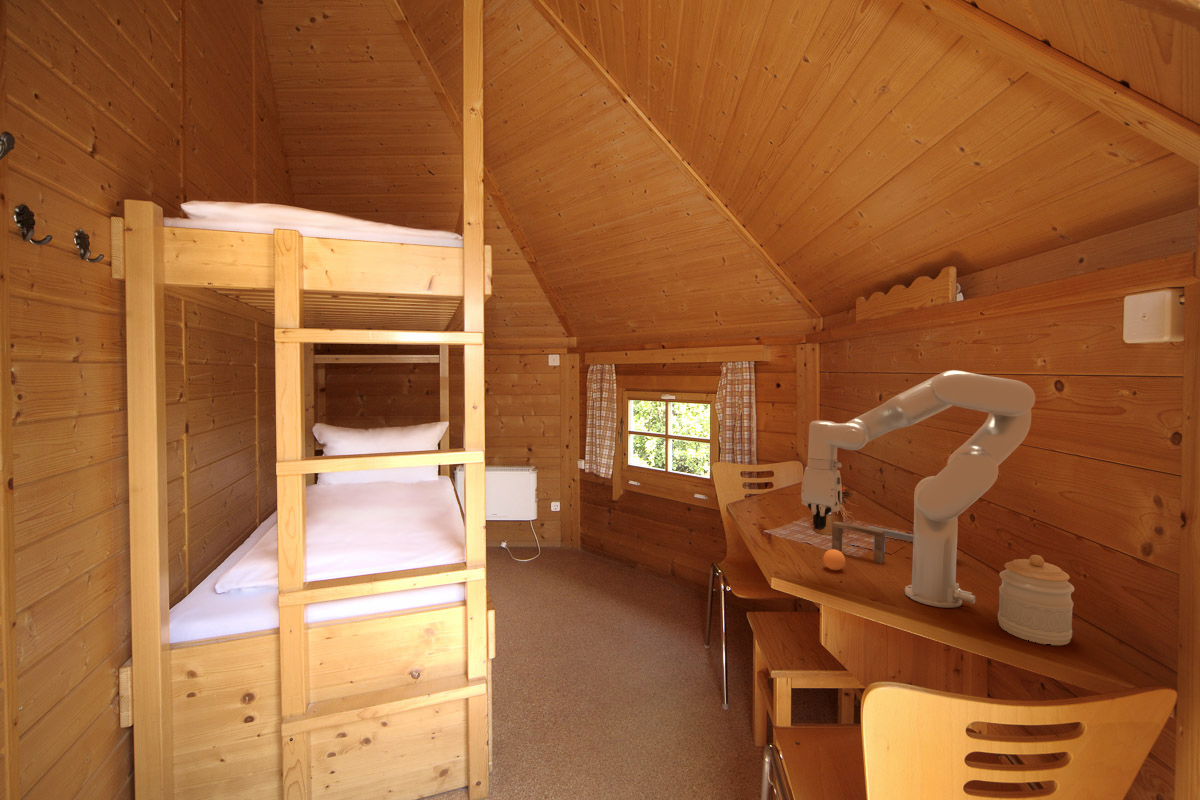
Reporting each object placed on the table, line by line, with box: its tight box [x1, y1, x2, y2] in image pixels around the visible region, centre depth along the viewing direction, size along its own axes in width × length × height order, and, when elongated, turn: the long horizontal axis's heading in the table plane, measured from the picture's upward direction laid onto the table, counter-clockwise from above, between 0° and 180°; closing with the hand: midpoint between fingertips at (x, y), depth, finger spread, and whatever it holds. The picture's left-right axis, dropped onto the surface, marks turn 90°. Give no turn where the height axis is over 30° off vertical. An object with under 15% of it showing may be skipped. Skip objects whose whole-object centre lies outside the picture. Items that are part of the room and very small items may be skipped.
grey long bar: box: [866, 525, 914, 542], centre depth 189 cm, size 16×2×2 cm, turn 43°
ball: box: [822, 548, 846, 571], centre depth 157 cm, size 6×6×6 cm
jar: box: [997, 554, 1075, 646], centre depth 119 cm, size 13×13×18 cm
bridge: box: [831, 520, 886, 565], centre depth 168 cm, size 3×15×10 cm, turn 43°
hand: (819, 528), depth 150 cm, fingers closed
